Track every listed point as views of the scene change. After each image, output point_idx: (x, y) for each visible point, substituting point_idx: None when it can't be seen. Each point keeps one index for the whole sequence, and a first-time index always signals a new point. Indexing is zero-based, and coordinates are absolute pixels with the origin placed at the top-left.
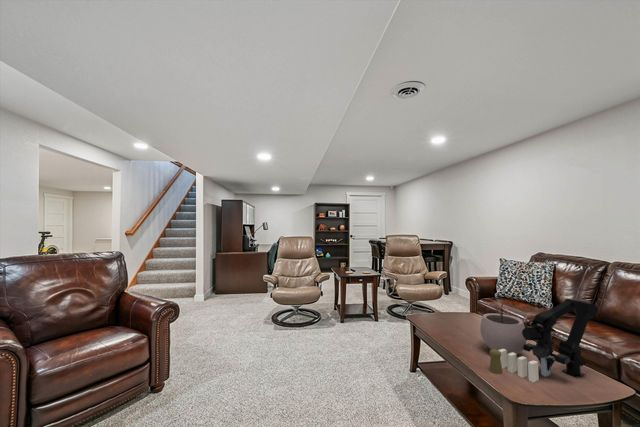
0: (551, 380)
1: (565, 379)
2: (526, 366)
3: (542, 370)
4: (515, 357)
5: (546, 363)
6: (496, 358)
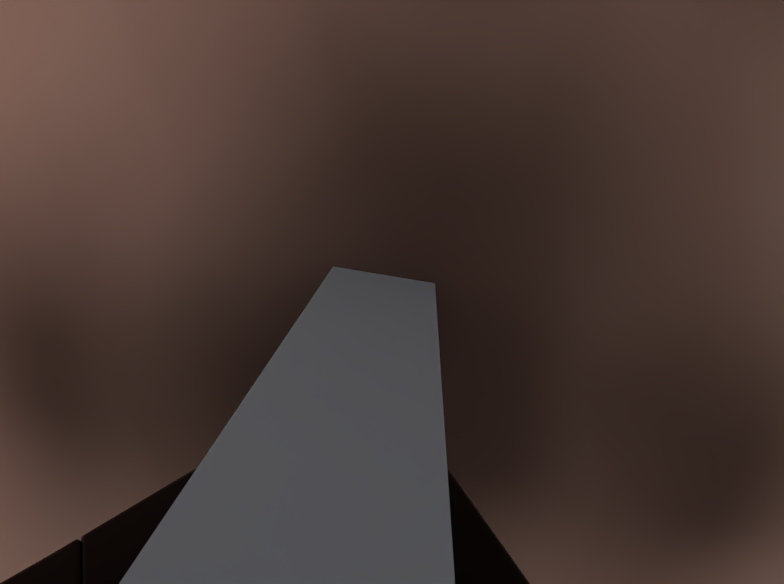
0: (177, 155)
1: (53, 468)
2: None
3: (401, 327)
4: None
5: None
6: None
